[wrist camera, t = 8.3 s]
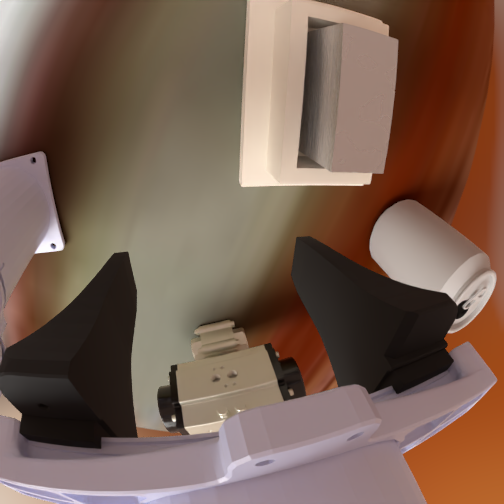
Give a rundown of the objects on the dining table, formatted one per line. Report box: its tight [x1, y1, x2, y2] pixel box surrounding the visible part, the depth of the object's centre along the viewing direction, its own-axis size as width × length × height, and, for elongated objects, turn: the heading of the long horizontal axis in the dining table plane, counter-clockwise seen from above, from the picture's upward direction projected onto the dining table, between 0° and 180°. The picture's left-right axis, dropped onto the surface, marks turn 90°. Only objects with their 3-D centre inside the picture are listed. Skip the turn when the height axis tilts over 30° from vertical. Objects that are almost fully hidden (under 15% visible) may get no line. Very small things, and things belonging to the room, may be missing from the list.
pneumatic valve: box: [157, 319, 306, 435], centre depth 24 cm, size 6×12×12 cm, turn 97°
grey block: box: [298, 23, 398, 174], centre depth 15 cm, size 4×8×6 cm, turn 178°
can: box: [370, 199, 496, 333], centre depth 22 cm, size 8×8×12 cm
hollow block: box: [239, 0, 389, 187], centre depth 17 cm, size 10×14×4 cm
